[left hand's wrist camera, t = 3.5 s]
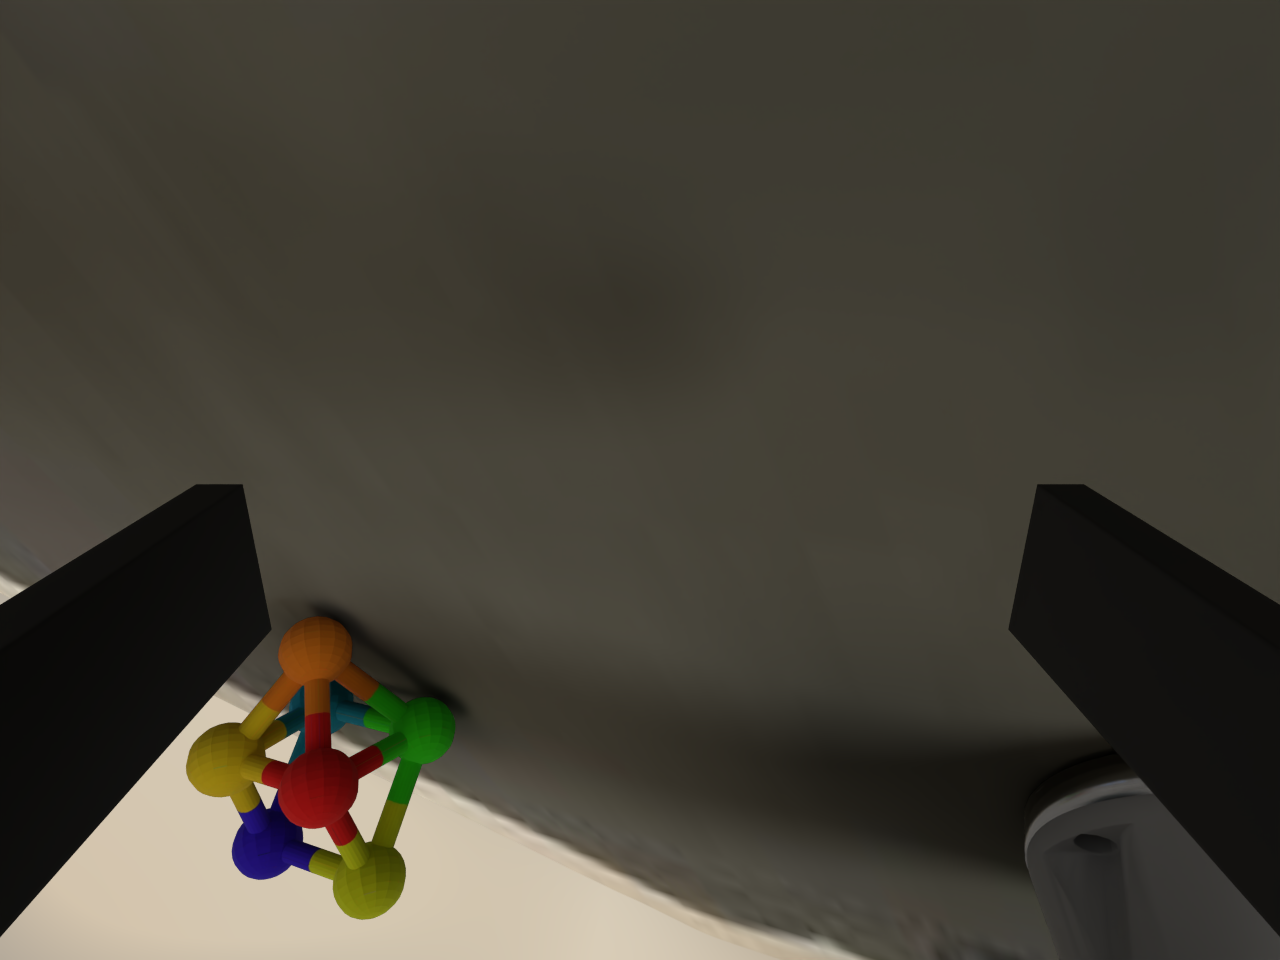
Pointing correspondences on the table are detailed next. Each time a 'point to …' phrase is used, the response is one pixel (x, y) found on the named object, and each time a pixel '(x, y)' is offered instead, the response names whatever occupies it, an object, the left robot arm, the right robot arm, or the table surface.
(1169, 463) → the table surface
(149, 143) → the table surface
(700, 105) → the table surface
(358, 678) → the molecular model
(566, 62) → the table surface
